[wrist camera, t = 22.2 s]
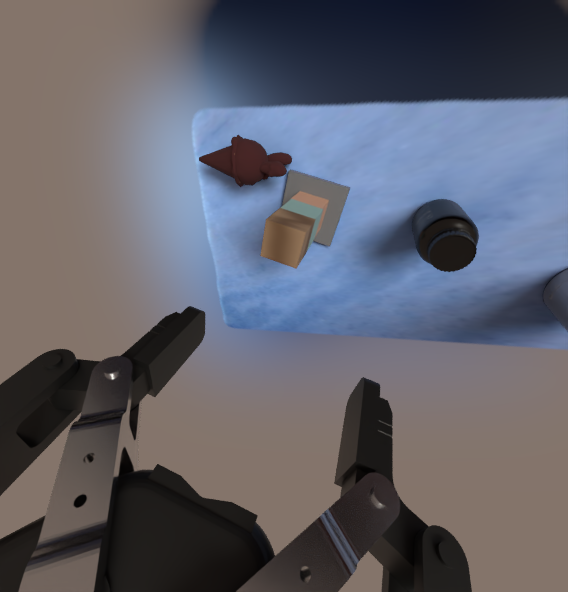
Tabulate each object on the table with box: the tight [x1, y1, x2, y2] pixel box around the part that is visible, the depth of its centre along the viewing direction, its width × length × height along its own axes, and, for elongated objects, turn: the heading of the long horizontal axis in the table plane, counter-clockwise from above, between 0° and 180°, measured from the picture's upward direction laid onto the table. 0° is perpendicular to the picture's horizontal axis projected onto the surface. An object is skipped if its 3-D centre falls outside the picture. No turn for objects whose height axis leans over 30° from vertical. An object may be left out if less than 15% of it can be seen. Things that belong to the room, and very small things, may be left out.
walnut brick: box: [260, 208, 316, 268], centre depth 34 cm, size 5×5×5 cm
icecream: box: [199, 135, 292, 187], centre depth 41 cm, size 7×7×15 cm
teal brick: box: [281, 199, 323, 250], centre depth 38 cm, size 5×5×5 cm
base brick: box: [291, 191, 329, 237], centre depth 42 cm, size 5×5×5 cm
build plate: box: [282, 170, 350, 246], centre depth 44 cm, size 10×10×1 cm
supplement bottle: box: [412, 199, 479, 272], centre depth 35 cm, size 7×7×12 cm
